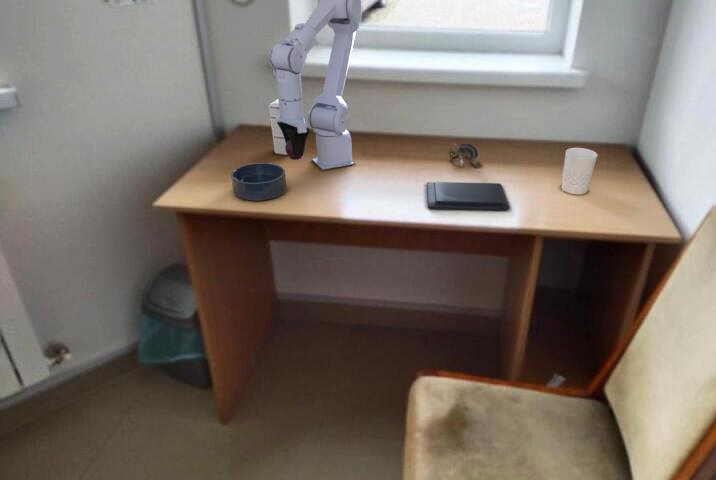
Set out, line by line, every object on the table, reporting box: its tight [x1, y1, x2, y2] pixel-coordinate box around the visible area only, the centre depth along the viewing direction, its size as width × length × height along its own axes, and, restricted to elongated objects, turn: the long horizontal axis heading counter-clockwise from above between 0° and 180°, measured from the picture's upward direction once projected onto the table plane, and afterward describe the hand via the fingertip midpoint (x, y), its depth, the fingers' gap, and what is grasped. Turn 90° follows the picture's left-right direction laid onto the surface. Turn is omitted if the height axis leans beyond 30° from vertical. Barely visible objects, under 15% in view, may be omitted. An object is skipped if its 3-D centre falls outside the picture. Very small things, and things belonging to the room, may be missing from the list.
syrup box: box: [268, 98, 289, 156], centre depth 161 cm, size 6×6×14 cm
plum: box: [285, 140, 306, 161], centre depth 141 cm, size 5×5×6 cm
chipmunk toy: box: [446, 143, 482, 168], centre depth 158 cm, size 8×7×9 cm
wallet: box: [426, 181, 510, 212], centre depth 141 cm, size 20×2×15 cm
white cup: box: [561, 147, 599, 195], centre depth 145 cm, size 8×8×10 cm
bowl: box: [230, 162, 288, 201], centre depth 140 cm, size 13×13×5 cm
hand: (295, 152), depth 142 cm, fingers closed on plum, 4 cm apart
